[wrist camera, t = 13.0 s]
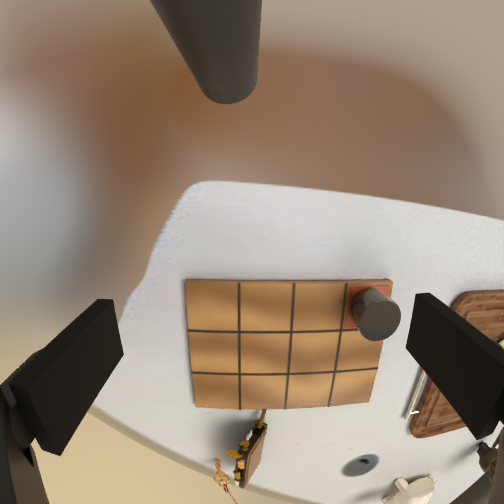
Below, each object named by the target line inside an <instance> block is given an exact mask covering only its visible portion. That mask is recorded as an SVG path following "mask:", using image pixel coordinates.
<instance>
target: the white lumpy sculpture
mask: <svg viewBox="0 0 504 504" xmlns="http://www.w3.org/2000/svg"><path fill="white" fill-rule="evenodd" d="M436 481H437V480H435V479H433V476H431V475H430V474H429V475H428V478H421V479H418V480H416V481H414V482H412V483H411V484H408V483H407V481H406V480H404V479H402V478H398V479H397V480H396V481H395V485H396V486H397V488H398V489H399V490H400V491H398V492H397V493H396V495H395V496H394V497H384V498H383V499H382V502H383V503H384V504H426V503H427V502H428V500H429V499H430V497H431V494H432V491H433V489H434V483H435V482H436Z"/></svg>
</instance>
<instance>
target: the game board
mask: <svg viewBox="0 0 504 504" xmlns="http://www.w3.org/2000/svg"><path fill="white" fill-rule="evenodd" d="M392 285H393V282H392V281H391V280H390V279H387V280H194V279H187V280H186V281H185V291H186V307H187V322H188V335H189V347H190V358H191V369H192V379H193V388H194V397H195V406H196V407H202V408H221V409H239V410H241V409H291V408H311V407H325V406H328V407H330V406H337V405H347V404H356V403H364V402H369V400H370V396H371V392H372V388H373V384H374V380H375V376H376V372H377V369H378V363H379V358H380V354H381V349H382V344H383V340H382V341H369V340H367V339H365V338H364V337H363V336H362V335H361V333H360V332H359V330H358V329H357V327H356V326H355V324H354V323H353V321H352V320H351V318H350V316H349V306H350V302H351V300H352V299H353V297H354V296H355V295H356V294H357V293H358V292H359V291H361V290H363V289H365V288H370V287H373V288H378V289H380V290H381V291H383V292H384V293H385V294H386V295H387V296H388V297H389V298H391V292H392Z"/></svg>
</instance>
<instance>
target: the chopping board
mask: <svg viewBox="0 0 504 504" xmlns="http://www.w3.org/2000/svg"><path fill="white" fill-rule="evenodd" d="M451 309H452V310H453V311H455V312H456V313H457V314H459V315H460V316H461V317H463V318H464V319H465V320H467V321H468V322H469V323H470V324H472V325H473V326H474V327H476V328H477V329H478V330H479V331H481V332H482V333H483V334H484V335H486V336H487V337H488V338H489V339H492V340H494V341H496V342H497V343H498V344H499V345H501V346H502V347H503V349H504V290H487V291H468V292H465V293H463V294H462V295H460V296H459V297H458V298H457V299H456V300H455V302H454V303H453V304H452V306H451ZM425 376H426V373H425V371H424V370H423V369H422V372H421V375H420V378H419V381H418V384H417V387H416V390H415V392H414V395H413V398H412V400H411V403H410V405H409V408H408V410H407V413H406V415H405V418H404V419H405V420H409V418H410V415H411V414H415V415H414V417H413V420H412V422H411V425H410V430H411V432H412V434H413V436H414V437H416V438H426V437H430V436H434V435H438V434H442V433H445V432H449V431H453V430H456V429H460V428H463V427H466V425H465V423H464V422H463V421H462V419H461V418H460V417H459V415H458V414H457V413H456V411H455V410H454V409H453V407H452V406H451V405H450V403H449V402H448V401H447V399H446V398H445V397H444V396H443V394H442V393H441V392H440V390H439V389H438V388H437V386H436V385H435V384H434V383H433V381H432V380H431V379H430V378H429V379H428V382H427V385H426V387H425V390H424V393H423V395H422V398H421V400H420V403H419V405H418V408H417V410H414V411H412V410H413V408H414V405H415V403H416V400H417V398H418V395H419V393H420V390H421V387H422V385H423V382H424V379H425Z"/></svg>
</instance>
